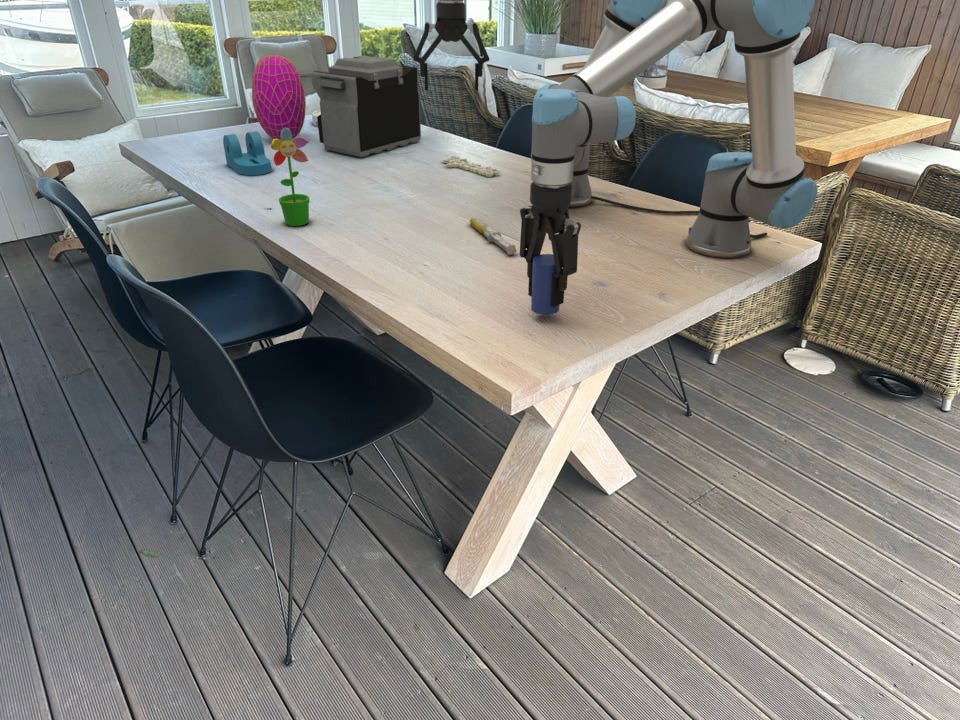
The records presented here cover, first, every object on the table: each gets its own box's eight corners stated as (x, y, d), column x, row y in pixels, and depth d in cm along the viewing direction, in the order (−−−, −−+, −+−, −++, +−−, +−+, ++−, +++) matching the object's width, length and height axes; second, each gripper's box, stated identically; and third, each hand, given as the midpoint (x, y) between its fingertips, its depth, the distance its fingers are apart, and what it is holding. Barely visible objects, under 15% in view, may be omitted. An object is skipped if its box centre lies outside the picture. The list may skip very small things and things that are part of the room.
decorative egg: (293, 132, 276) (283, 50, 261) (319, 140, 264) (310, 56, 249) (249, 139, 265) (236, 54, 250) (273, 148, 253) (261, 60, 238)
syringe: (466, 223, 184) (466, 213, 183) (479, 221, 185) (479, 212, 184) (502, 257, 164) (503, 246, 163) (517, 255, 165) (517, 244, 164)
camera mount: (227, 164, 233) (221, 132, 227) (257, 160, 238) (252, 129, 233) (244, 176, 220) (239, 143, 215) (276, 172, 225) (271, 139, 220)
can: (546, 299, 139) (548, 251, 134) (565, 309, 136) (568, 260, 130) (525, 307, 136) (526, 258, 131) (544, 317, 133) (546, 267, 127)
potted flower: (284, 229, 179) (270, 130, 166) (277, 220, 185) (263, 124, 172) (319, 224, 183) (308, 127, 170) (311, 215, 188) (300, 121, 176)
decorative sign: (432, 159, 238) (454, 155, 243) (432, 162, 238) (454, 157, 244) (482, 176, 221) (505, 170, 226) (482, 179, 221) (505, 173, 227)
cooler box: (383, 133, 276) (378, 52, 261) (425, 141, 265) (422, 56, 250) (314, 150, 251) (304, 61, 235) (358, 160, 240) (350, 67, 224)
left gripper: (401, 2, 172) (405, 91, 183) (500, 3, 173) (498, 92, 184) (402, 0, 178) (406, 87, 189) (498, 1, 180) (496, 87, 191)
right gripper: (501, 175, 127) (499, 289, 139) (575, 198, 115) (567, 321, 127) (530, 167, 131) (526, 279, 143) (605, 189, 119) (594, 309, 131)
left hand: (451, 89), depth 187 cm, fingers open, 13 cm apart
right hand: (545, 298), depth 135 cm, fingers closed on can, 6 cm apart
